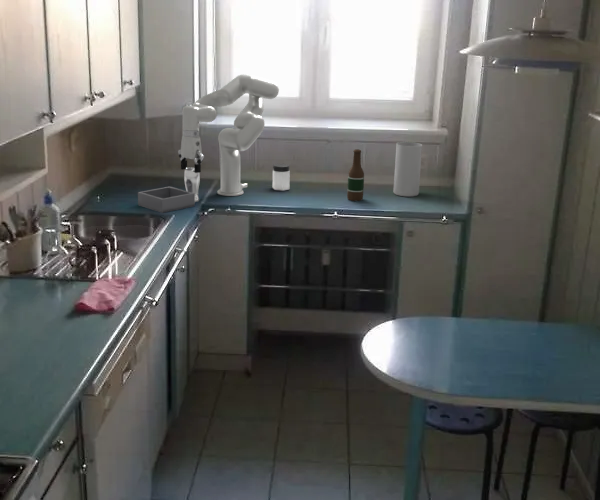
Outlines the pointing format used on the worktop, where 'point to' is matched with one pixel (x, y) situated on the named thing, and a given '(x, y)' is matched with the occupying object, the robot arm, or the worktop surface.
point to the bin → (166, 199)
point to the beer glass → (192, 181)
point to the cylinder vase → (407, 169)
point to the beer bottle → (355, 178)
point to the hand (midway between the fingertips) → (190, 170)
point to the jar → (281, 177)
